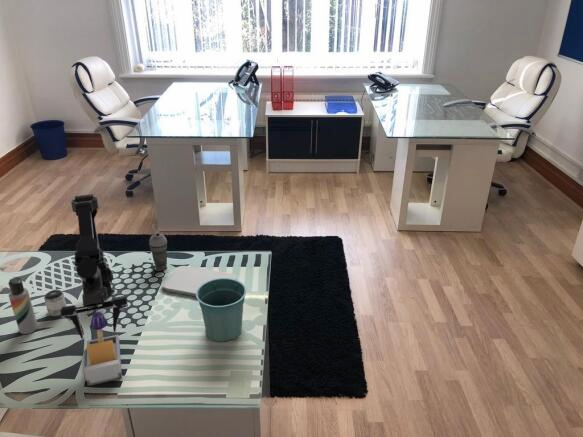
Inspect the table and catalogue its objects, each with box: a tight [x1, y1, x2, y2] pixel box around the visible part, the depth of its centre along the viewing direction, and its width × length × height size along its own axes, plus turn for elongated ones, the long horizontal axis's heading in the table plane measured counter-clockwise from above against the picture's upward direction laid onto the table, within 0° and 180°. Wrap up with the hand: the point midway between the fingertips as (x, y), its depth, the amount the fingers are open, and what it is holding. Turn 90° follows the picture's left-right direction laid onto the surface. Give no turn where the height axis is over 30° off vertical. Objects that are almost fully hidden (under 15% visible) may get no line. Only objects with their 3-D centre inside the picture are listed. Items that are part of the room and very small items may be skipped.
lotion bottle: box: [7, 277, 39, 335], centre depth 158 cm, size 6×6×20 cm
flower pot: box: [195, 278, 247, 342], centre depth 160 cm, size 16×16×16 cm
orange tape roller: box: [83, 334, 123, 387], centre depth 148 cm, size 18×10×6 cm, turn 20°
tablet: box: [162, 265, 237, 297], centre depth 187 cm, size 16×26×2 cm, turn 75°
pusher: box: [86, 340, 116, 366], centre depth 145 cm, size 1×7×8 cm, turn 111°
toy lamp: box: [90, 311, 108, 343], centre depth 146 cm, size 5×5×17 cm
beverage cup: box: [148, 224, 168, 271], centre depth 193 cm, size 7×7×20 cm
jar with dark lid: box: [43, 289, 67, 317], centre depth 169 cm, size 6×6×8 cm
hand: (98, 335), depth 144 cm, fingers open, 9 cm apart
